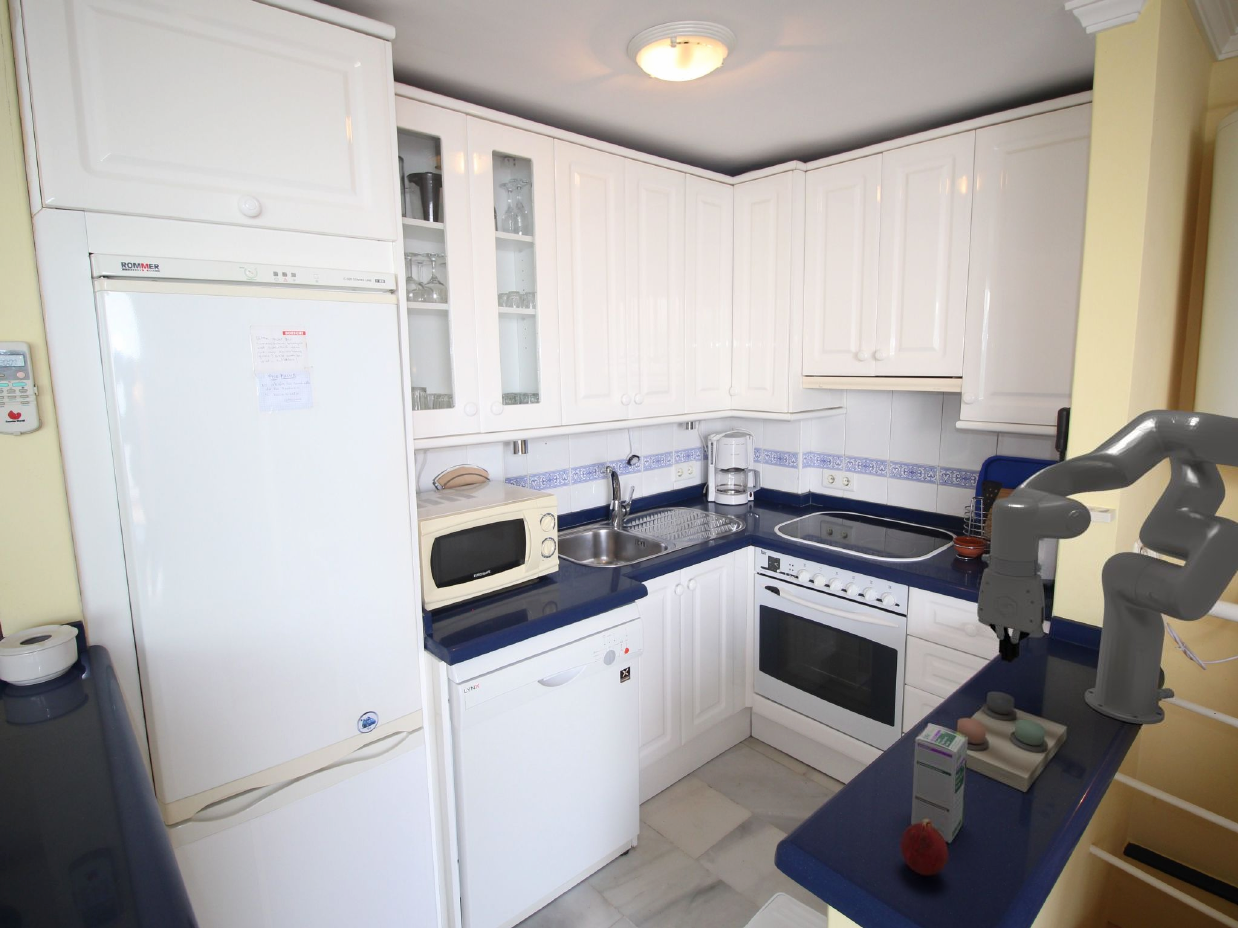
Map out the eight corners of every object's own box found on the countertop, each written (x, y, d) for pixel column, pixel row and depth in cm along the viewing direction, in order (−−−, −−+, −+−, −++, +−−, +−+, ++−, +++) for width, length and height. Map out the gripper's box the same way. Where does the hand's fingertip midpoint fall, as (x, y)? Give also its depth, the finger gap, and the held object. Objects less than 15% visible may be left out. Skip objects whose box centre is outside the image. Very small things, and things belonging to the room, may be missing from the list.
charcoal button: (991, 699, 127) (992, 689, 126) (1016, 708, 124) (1017, 697, 123) (982, 707, 124) (983, 696, 124) (1008, 716, 121) (1009, 705, 120)
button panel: (988, 711, 129) (990, 696, 129) (1065, 739, 120) (1067, 723, 119) (942, 756, 115) (943, 739, 114) (1025, 792, 105) (1027, 774, 105)
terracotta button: (962, 726, 118) (963, 715, 117) (989, 736, 114) (990, 725, 114) (952, 735, 115) (953, 724, 114) (979, 746, 111) (980, 734, 111)
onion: (940, 897, 85) (945, 842, 84) (894, 876, 88) (897, 823, 87) (949, 869, 89) (954, 817, 88) (905, 851, 93) (908, 800, 92)
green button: (1019, 727, 117) (1020, 716, 117) (1047, 738, 114) (1048, 726, 113) (1010, 737, 114) (1011, 725, 114) (1039, 748, 111) (1040, 736, 111)
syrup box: (951, 844, 94) (958, 752, 92) (908, 825, 98) (915, 736, 96) (963, 824, 98) (970, 735, 96) (921, 806, 102) (928, 720, 100)
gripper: (962, 562, 122) (958, 653, 125) (1054, 579, 111) (1048, 679, 114) (977, 552, 127) (973, 640, 130) (1067, 568, 116) (1061, 664, 119)
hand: (1008, 658), depth 122 cm, fingers closed
